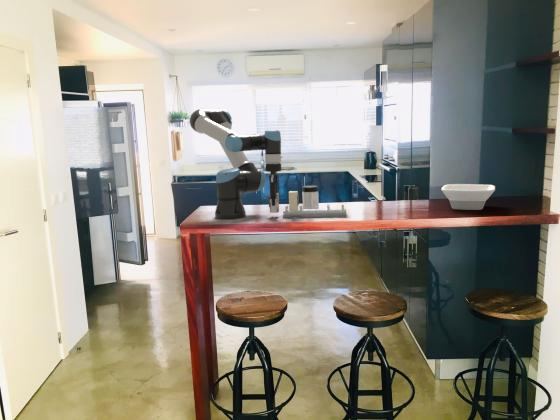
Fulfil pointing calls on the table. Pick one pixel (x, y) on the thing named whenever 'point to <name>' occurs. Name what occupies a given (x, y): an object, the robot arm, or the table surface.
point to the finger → (277, 203)
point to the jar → (310, 197)
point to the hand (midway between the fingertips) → (274, 211)
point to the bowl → (468, 195)
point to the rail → (309, 213)
